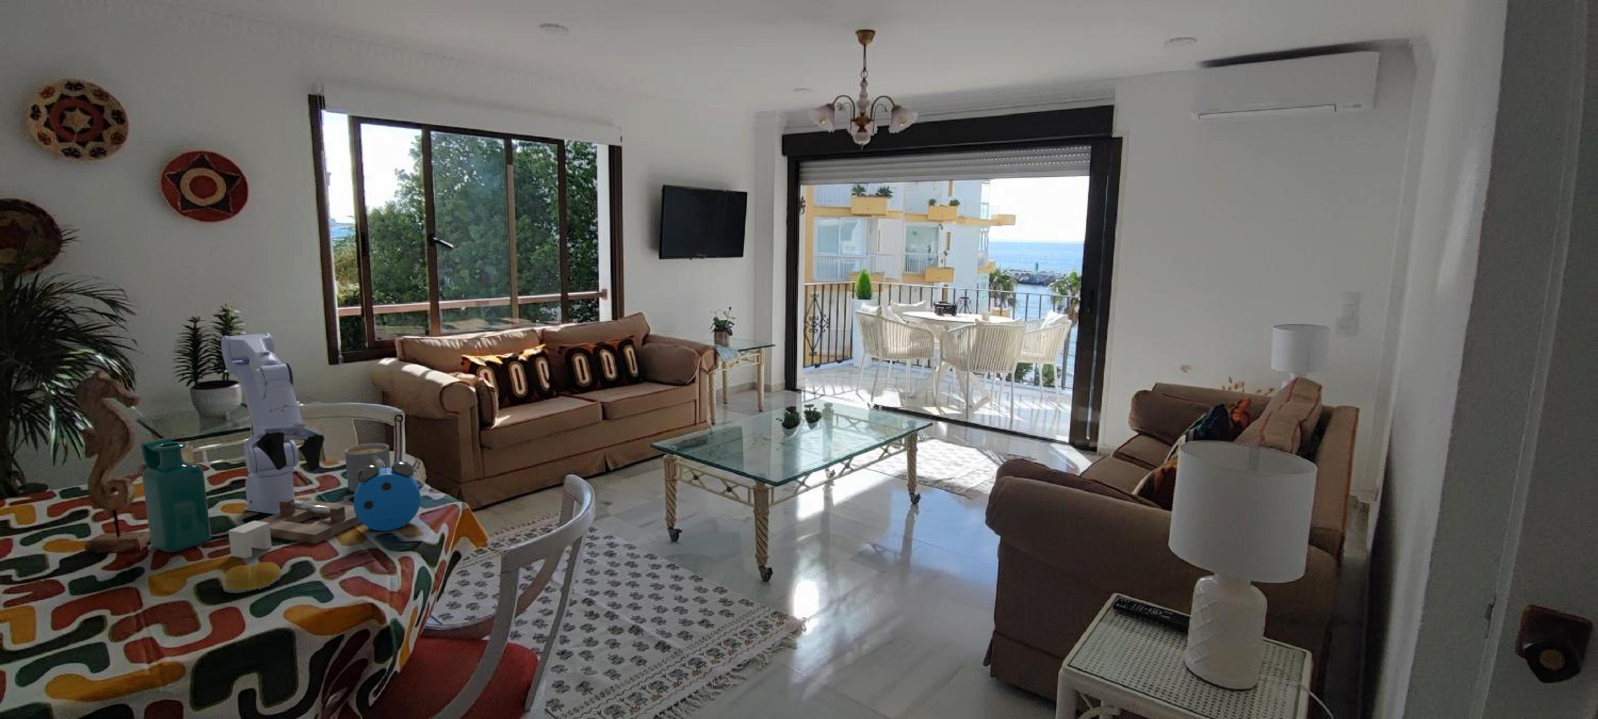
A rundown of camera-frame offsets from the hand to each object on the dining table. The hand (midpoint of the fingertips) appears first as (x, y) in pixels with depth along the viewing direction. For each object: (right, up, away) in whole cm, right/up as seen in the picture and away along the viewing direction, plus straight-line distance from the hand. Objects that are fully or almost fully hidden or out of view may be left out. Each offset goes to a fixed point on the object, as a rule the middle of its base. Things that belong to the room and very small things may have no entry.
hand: (298, 468), depth 163 cm
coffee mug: (-4, -10, +35) cm, 36 cm away
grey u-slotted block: (-7, -17, -4) cm, 19 cm away
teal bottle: (-24, -16, -1) cm, 29 cm away
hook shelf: (-3, -14, +10) cm, 18 cm away
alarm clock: (+14, -15, +10) cm, 23 cm away
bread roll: (+3, -20, -18) cm, 27 cm away
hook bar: (-3, -11, +9) cm, 15 cm away
